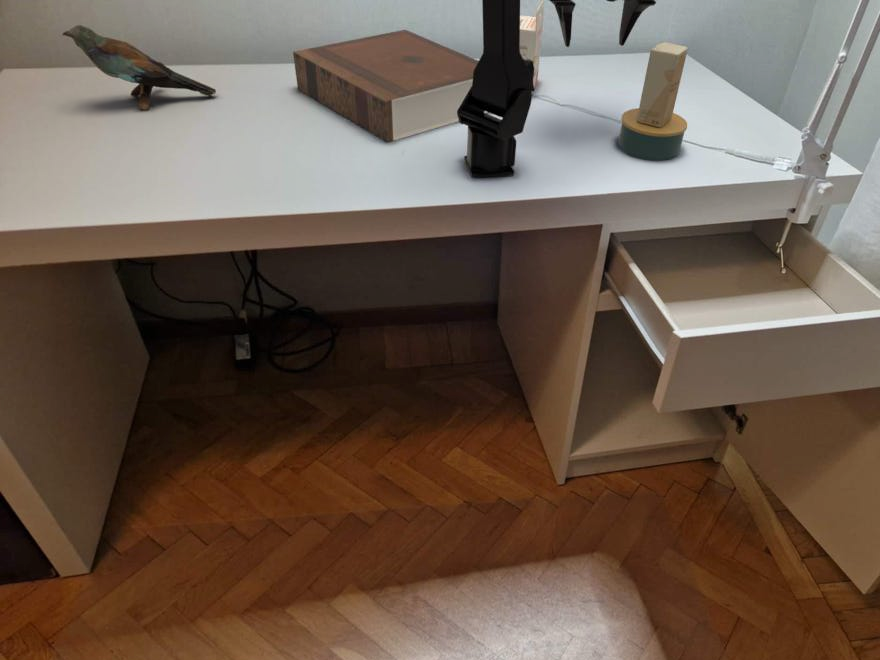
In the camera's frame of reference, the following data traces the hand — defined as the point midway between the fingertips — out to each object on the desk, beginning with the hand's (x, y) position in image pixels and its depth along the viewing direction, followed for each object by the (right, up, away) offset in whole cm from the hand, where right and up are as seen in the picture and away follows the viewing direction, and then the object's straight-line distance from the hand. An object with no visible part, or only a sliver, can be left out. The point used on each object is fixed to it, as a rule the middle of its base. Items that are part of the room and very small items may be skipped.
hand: (594, 45), depth 110 cm
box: (+9, -12, 0) cm, 15 cm away
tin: (+9, -15, +3) cm, 18 cm away
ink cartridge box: (-10, +1, +21) cm, 23 cm away
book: (-33, -3, +14) cm, 36 cm away
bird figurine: (-75, -6, +9) cm, 76 cm away
